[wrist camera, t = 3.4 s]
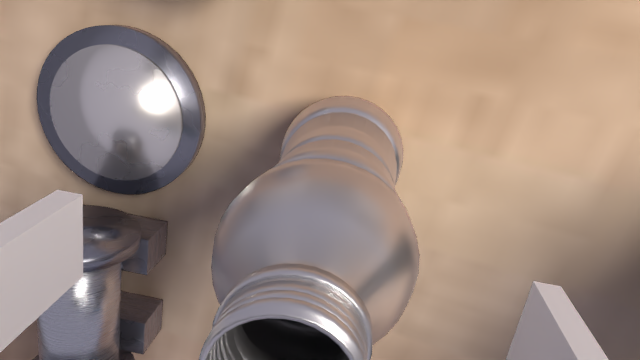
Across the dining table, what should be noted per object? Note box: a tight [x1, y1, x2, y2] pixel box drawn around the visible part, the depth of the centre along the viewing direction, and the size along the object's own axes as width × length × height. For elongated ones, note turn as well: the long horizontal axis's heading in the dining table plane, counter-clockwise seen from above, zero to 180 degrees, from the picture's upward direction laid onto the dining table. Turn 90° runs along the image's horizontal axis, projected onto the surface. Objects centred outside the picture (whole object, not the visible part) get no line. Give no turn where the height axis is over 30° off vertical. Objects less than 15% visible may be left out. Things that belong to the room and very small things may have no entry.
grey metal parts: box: [33, 25, 206, 360], centre depth 28 cm, size 21×10×8 cm, turn 171°
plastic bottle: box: [199, 96, 420, 360], centre depth 20 cm, size 6×7×20 cm
